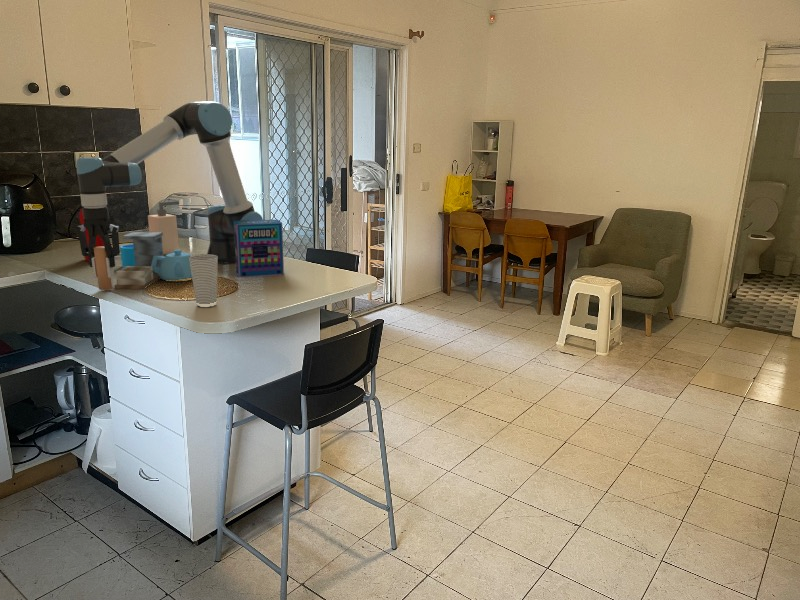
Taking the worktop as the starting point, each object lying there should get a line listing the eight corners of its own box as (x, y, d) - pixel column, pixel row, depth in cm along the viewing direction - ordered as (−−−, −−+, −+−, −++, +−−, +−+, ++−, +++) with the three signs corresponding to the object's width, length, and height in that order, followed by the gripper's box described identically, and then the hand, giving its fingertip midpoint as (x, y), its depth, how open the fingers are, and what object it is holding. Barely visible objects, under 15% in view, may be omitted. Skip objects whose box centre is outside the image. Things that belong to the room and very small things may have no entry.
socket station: (166, 275, 223) (162, 232, 218) (145, 289, 203) (141, 242, 199) (136, 275, 222) (132, 232, 218) (113, 288, 203) (107, 241, 199)
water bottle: (88, 263, 238) (80, 201, 232) (83, 259, 247) (75, 198, 240) (113, 261, 244) (106, 200, 237) (107, 256, 252) (100, 197, 245)
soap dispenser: (161, 254, 259) (157, 203, 252) (150, 252, 264) (146, 202, 257) (187, 250, 268) (183, 201, 262) (176, 248, 273) (172, 200, 267)
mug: (126, 269, 230) (124, 249, 228) (119, 266, 236) (117, 245, 234) (157, 265, 238) (155, 245, 236) (150, 262, 244) (148, 242, 242)
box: (279, 269, 236) (277, 219, 230) (283, 274, 228) (282, 222, 222) (236, 272, 230) (233, 220, 224) (239, 277, 222) (236, 224, 216)
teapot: (179, 272, 229) (177, 244, 226) (210, 276, 223) (208, 248, 220) (148, 280, 215) (145, 251, 212) (180, 285, 210) (178, 255, 207)
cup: (208, 310, 181) (205, 260, 177) (186, 307, 184) (182, 258, 180) (226, 303, 189) (223, 255, 185) (204, 300, 192) (201, 253, 188)
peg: (114, 286, 202) (109, 246, 198) (108, 289, 198) (103, 248, 194) (102, 286, 202) (96, 246, 198) (96, 289, 198) (91, 248, 194)
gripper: (126, 205, 196) (134, 274, 203) (74, 204, 196) (83, 273, 203) (116, 208, 189) (125, 279, 196) (62, 207, 189) (72, 279, 195)
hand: (104, 276), depth 199 cm, fingers closed on peg, 4 cm apart
